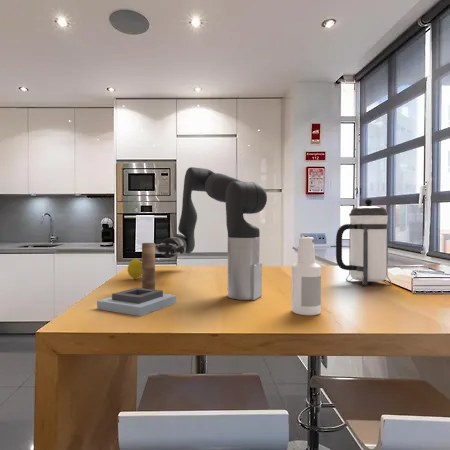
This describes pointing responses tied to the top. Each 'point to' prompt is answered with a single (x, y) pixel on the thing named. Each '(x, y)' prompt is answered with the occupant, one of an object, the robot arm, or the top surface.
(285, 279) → the top surface
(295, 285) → the spray bottle
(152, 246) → the peg
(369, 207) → the coffee press
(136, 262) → the lemon
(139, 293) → the socket
